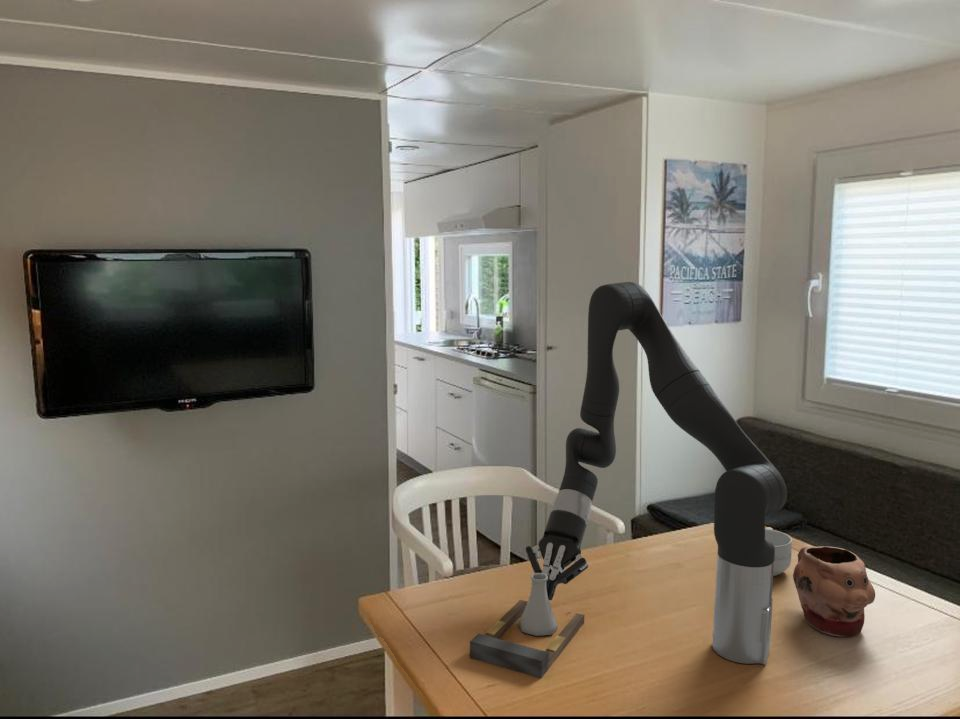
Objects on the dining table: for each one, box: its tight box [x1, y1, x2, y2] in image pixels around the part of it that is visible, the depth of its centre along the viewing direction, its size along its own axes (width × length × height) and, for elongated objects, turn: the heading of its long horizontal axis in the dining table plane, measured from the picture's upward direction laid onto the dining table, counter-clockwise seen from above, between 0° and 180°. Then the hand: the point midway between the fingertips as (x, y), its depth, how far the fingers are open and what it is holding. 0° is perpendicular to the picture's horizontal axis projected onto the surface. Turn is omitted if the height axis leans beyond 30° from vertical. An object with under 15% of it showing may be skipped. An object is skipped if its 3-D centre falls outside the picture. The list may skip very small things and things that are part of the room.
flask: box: [518, 573, 559, 637], centre depth 136 cm, size 7×7×10 cm
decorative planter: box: [792, 545, 876, 637], centre depth 140 cm, size 20×12×14 cm, turn 14°
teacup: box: [765, 526, 793, 577], centre depth 164 cm, size 14×11×8 cm
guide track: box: [469, 599, 585, 679], centre depth 132 cm, size 13×21×3 cm, turn 153°
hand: (543, 600), depth 138 cm, fingers closed
